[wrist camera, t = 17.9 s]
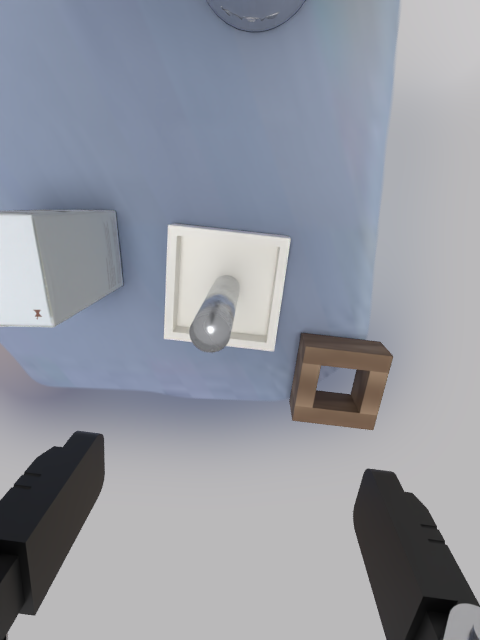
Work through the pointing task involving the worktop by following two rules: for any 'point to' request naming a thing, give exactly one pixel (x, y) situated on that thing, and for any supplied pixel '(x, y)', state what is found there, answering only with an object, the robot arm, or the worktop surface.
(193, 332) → the cylinder
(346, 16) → the worktop surface
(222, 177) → the worktop surface
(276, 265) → the tray
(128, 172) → the worktop surface
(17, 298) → the supplement box
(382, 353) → the bore block
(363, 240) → the worktop surface
